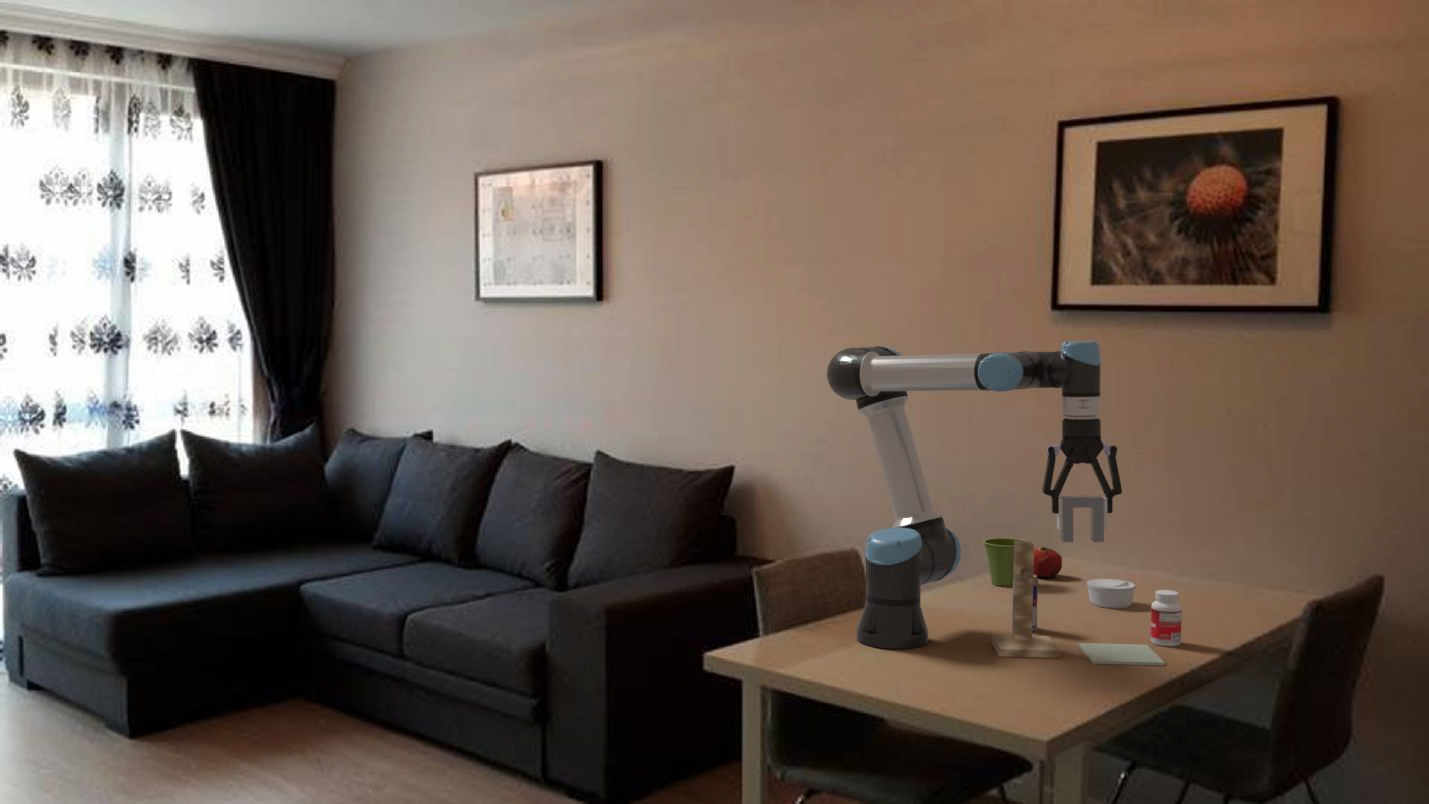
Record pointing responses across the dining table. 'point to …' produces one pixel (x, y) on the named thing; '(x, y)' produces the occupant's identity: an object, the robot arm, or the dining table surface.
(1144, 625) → the dining table surface
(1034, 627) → the energy drink
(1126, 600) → the ramekin
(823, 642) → the dining table surface
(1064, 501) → the c link
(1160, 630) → the pill bottle
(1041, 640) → the stand
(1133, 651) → the mat
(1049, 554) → the tomato
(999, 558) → the plant pot
